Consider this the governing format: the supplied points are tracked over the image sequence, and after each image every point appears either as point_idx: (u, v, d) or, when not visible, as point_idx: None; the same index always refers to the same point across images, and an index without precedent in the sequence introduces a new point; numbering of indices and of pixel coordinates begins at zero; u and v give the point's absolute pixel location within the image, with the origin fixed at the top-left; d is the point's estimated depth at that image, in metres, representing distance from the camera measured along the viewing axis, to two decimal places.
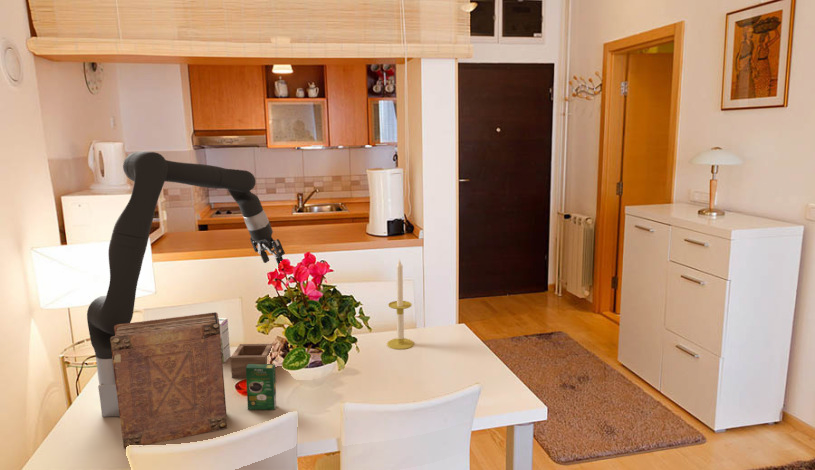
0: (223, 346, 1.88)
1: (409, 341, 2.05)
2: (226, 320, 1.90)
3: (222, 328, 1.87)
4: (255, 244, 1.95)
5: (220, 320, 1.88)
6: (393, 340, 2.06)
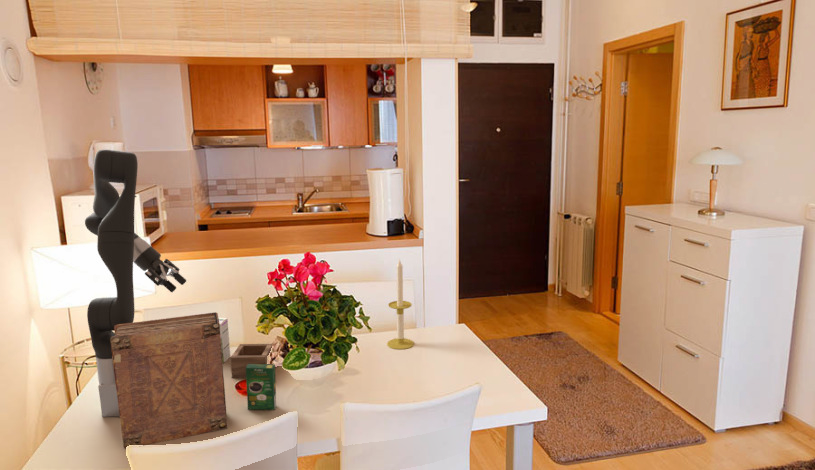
0: (223, 346, 1.88)
1: (409, 341, 2.05)
2: (226, 320, 1.90)
3: (222, 328, 1.87)
4: None
5: (220, 320, 1.88)
6: (393, 340, 2.06)
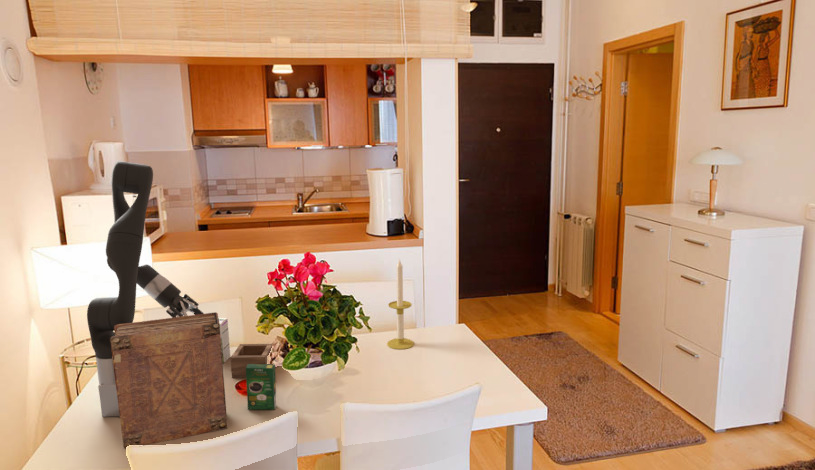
0: (223, 346, 1.88)
1: (409, 341, 2.05)
2: (226, 320, 1.90)
3: (222, 328, 1.87)
4: None
5: (220, 320, 1.88)
6: (393, 340, 2.06)
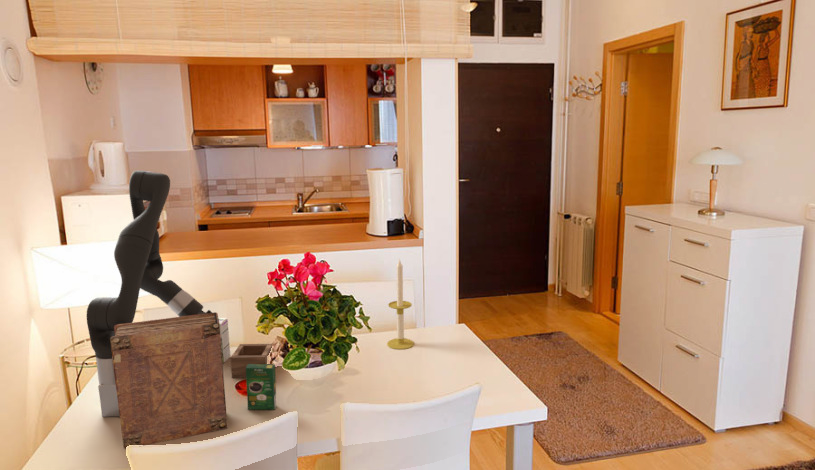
0: (223, 346, 1.88)
1: (409, 341, 2.05)
2: (226, 320, 1.90)
3: (222, 328, 1.87)
4: None
5: (220, 320, 1.88)
6: (393, 340, 2.06)
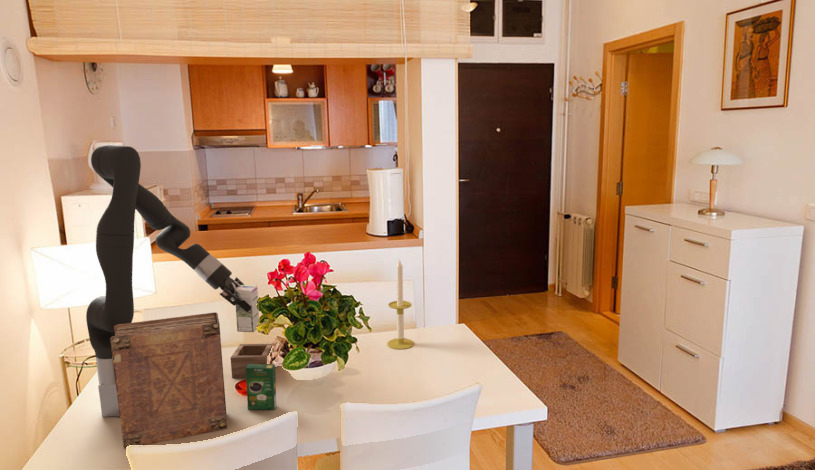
0: (253, 314, 1.77)
1: (409, 341, 2.05)
2: (256, 287, 1.79)
3: (252, 295, 1.76)
4: None
5: (250, 287, 1.77)
6: (393, 340, 2.06)
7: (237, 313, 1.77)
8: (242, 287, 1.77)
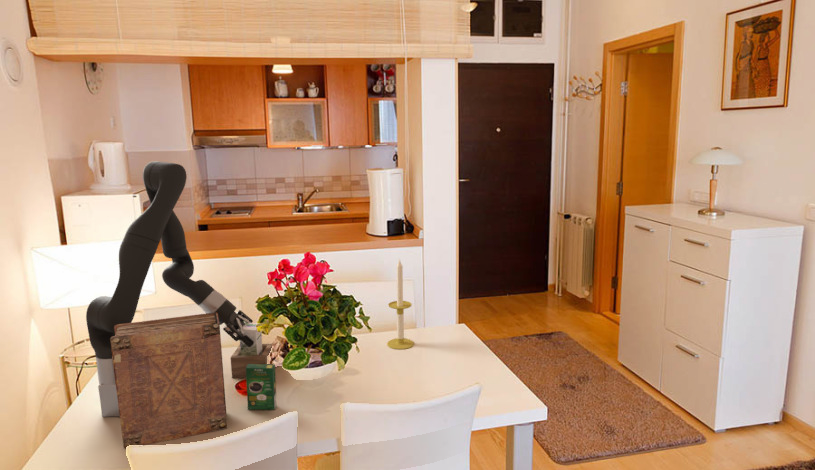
0: (257, 353, 1.79)
1: (409, 341, 2.05)
2: None
3: (257, 334, 1.78)
4: None
5: (254, 326, 1.80)
6: (393, 340, 2.06)
7: (242, 352, 1.79)
8: (246, 326, 1.79)
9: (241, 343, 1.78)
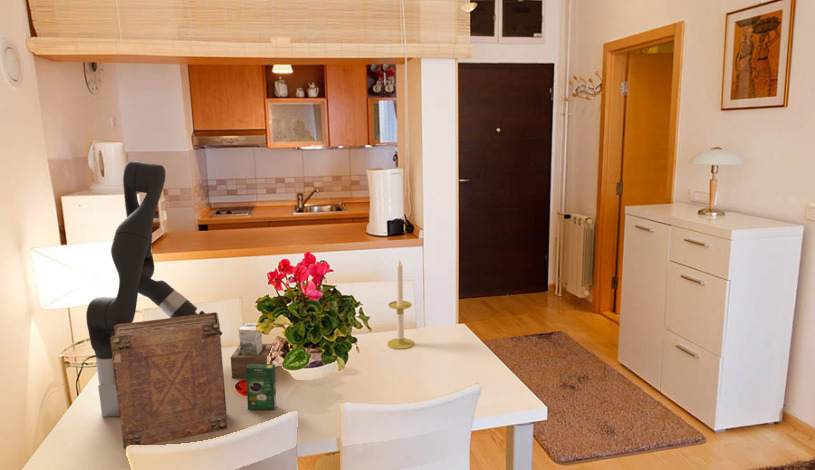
0: (257, 353, 1.79)
1: (409, 341, 2.05)
2: None
3: (256, 334, 1.78)
4: None
5: (254, 326, 1.79)
6: (393, 340, 2.06)
7: (242, 352, 1.79)
8: (246, 326, 1.79)
9: (241, 343, 1.78)
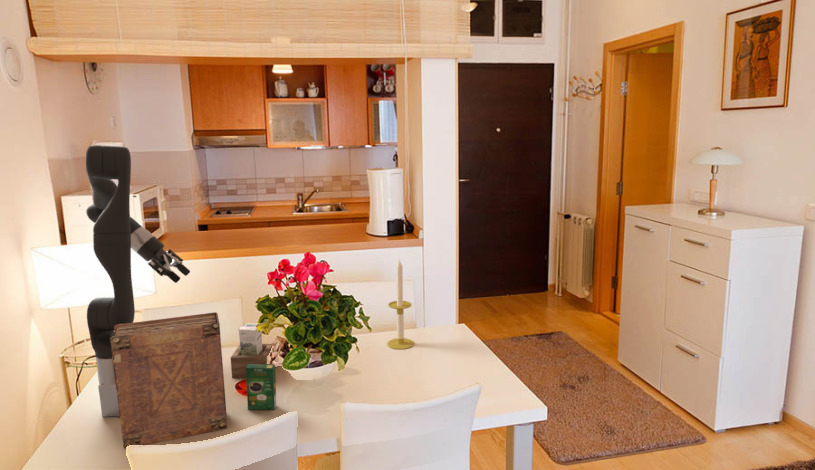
0: (257, 353, 1.79)
1: (409, 341, 2.05)
2: None
3: (256, 334, 1.78)
4: None
5: (254, 326, 1.79)
6: (393, 340, 2.06)
7: (242, 352, 1.79)
8: (246, 326, 1.79)
9: (241, 343, 1.78)
